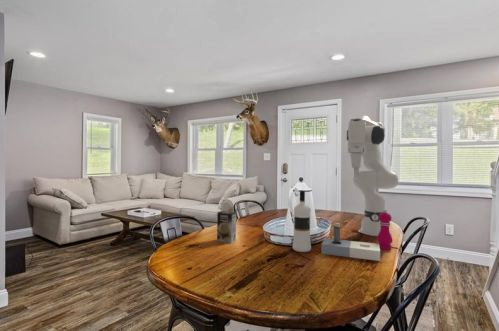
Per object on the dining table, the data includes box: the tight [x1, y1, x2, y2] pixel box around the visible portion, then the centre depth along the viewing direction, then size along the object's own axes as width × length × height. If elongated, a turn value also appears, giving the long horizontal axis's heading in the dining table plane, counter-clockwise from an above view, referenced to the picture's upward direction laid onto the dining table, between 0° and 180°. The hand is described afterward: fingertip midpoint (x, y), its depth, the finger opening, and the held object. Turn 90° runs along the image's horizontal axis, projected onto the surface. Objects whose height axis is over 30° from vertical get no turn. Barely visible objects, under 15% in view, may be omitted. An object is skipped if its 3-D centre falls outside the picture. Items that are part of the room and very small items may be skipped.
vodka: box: [292, 190, 312, 253], centre depth 144 cm, size 9×9×30 cm
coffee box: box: [216, 210, 237, 244], centre depth 159 cm, size 9×6×16 cm
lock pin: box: [332, 222, 341, 244], centre depth 142 cm, size 3×3×14 cm
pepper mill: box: [376, 209, 393, 251], centre depth 148 cm, size 7×7×20 cm
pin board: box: [321, 237, 381, 262], centre depth 139 cm, size 12×26×4 cm, turn 68°
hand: (356, 176), depth 147 cm, fingers open, 8 cm apart
